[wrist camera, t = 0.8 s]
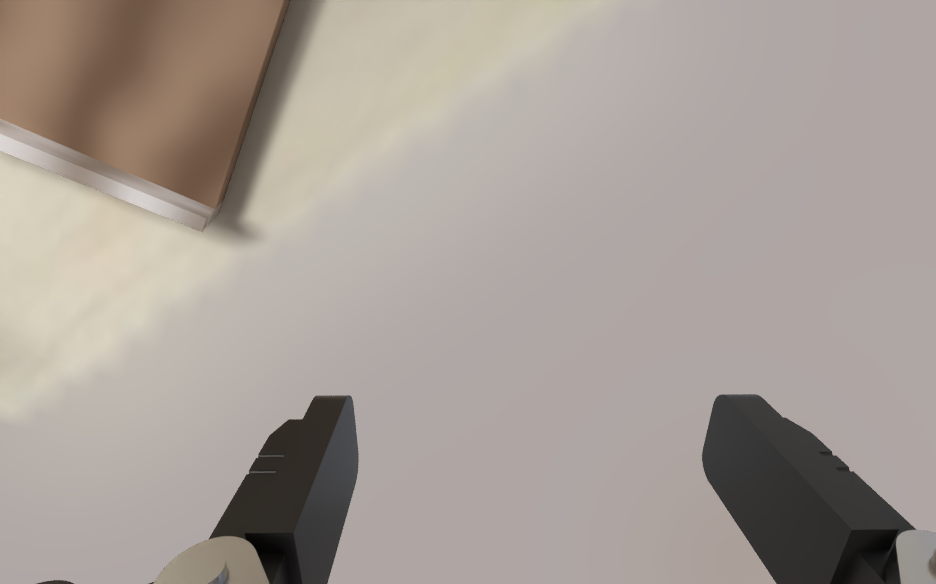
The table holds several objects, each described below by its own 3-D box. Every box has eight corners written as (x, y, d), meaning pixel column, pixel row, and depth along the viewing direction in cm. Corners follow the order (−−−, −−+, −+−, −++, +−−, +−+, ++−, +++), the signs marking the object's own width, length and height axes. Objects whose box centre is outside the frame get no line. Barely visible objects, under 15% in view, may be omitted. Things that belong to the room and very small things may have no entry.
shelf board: (-38, 109, 27) (-84, 120, 24) (-13, -332, 19) (-80, -384, 16) (217, 215, 32) (201, 234, 29) (323, -100, 24) (313, -112, 21)
